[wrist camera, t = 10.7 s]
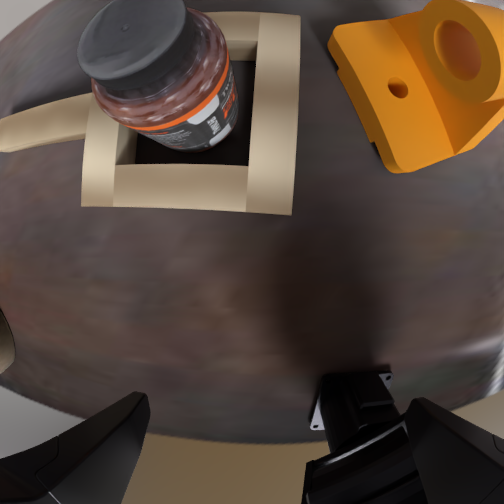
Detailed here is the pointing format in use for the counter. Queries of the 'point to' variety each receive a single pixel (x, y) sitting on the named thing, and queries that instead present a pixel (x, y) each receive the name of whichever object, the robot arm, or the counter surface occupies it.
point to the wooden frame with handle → (188, 175)
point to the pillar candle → (5, 345)
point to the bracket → (425, 80)
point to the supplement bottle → (161, 72)
